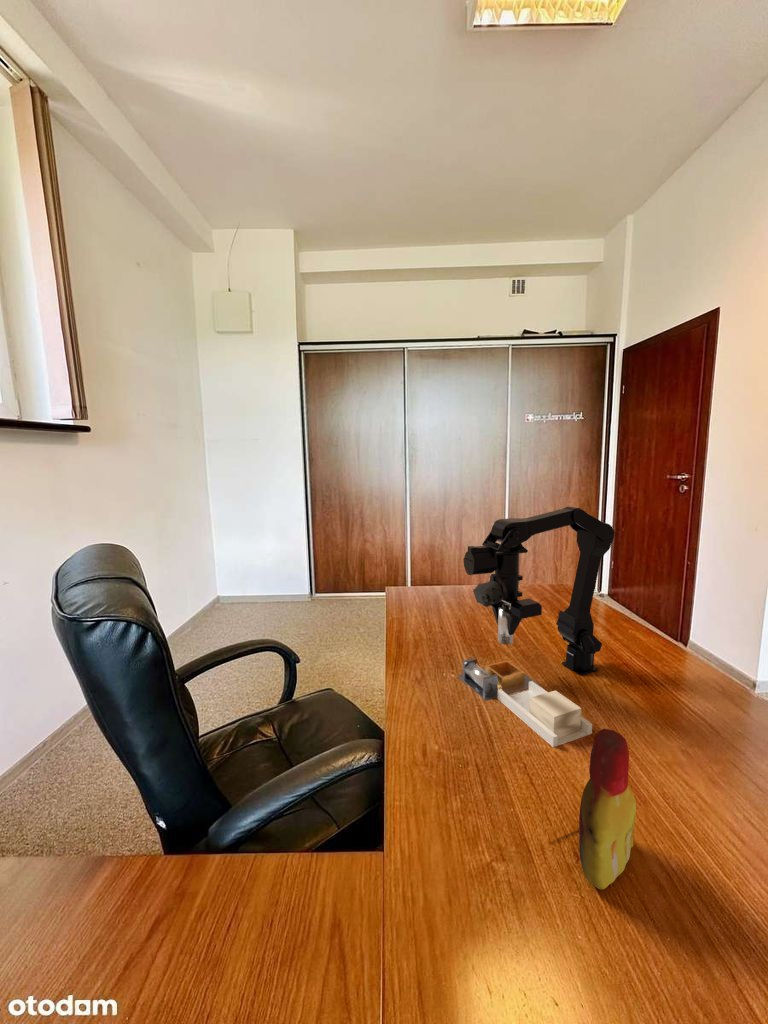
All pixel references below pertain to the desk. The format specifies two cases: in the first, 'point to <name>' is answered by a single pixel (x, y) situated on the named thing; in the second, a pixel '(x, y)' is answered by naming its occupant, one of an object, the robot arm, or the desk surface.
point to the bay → (535, 723)
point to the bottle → (606, 811)
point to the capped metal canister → (503, 626)
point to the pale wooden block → (556, 713)
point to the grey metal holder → (494, 678)
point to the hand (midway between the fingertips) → (505, 631)
